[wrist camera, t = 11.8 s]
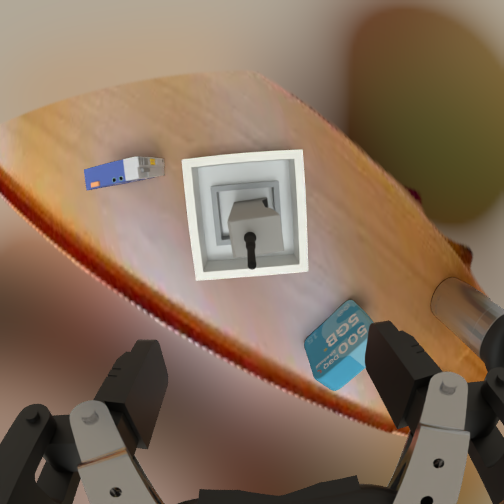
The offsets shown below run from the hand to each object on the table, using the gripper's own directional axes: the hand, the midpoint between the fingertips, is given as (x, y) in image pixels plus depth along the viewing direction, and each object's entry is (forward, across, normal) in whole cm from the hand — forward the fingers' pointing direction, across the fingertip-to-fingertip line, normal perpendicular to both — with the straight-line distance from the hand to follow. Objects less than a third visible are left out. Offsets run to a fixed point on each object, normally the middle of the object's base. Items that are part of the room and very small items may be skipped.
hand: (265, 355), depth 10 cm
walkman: (+36, +17, -8) cm, 41 cm away
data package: (+36, -14, +22) cm, 44 cm away
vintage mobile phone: (+35, 0, 0) cm, 35 cm away
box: (+36, +1, 0) cm, 36 cm away
